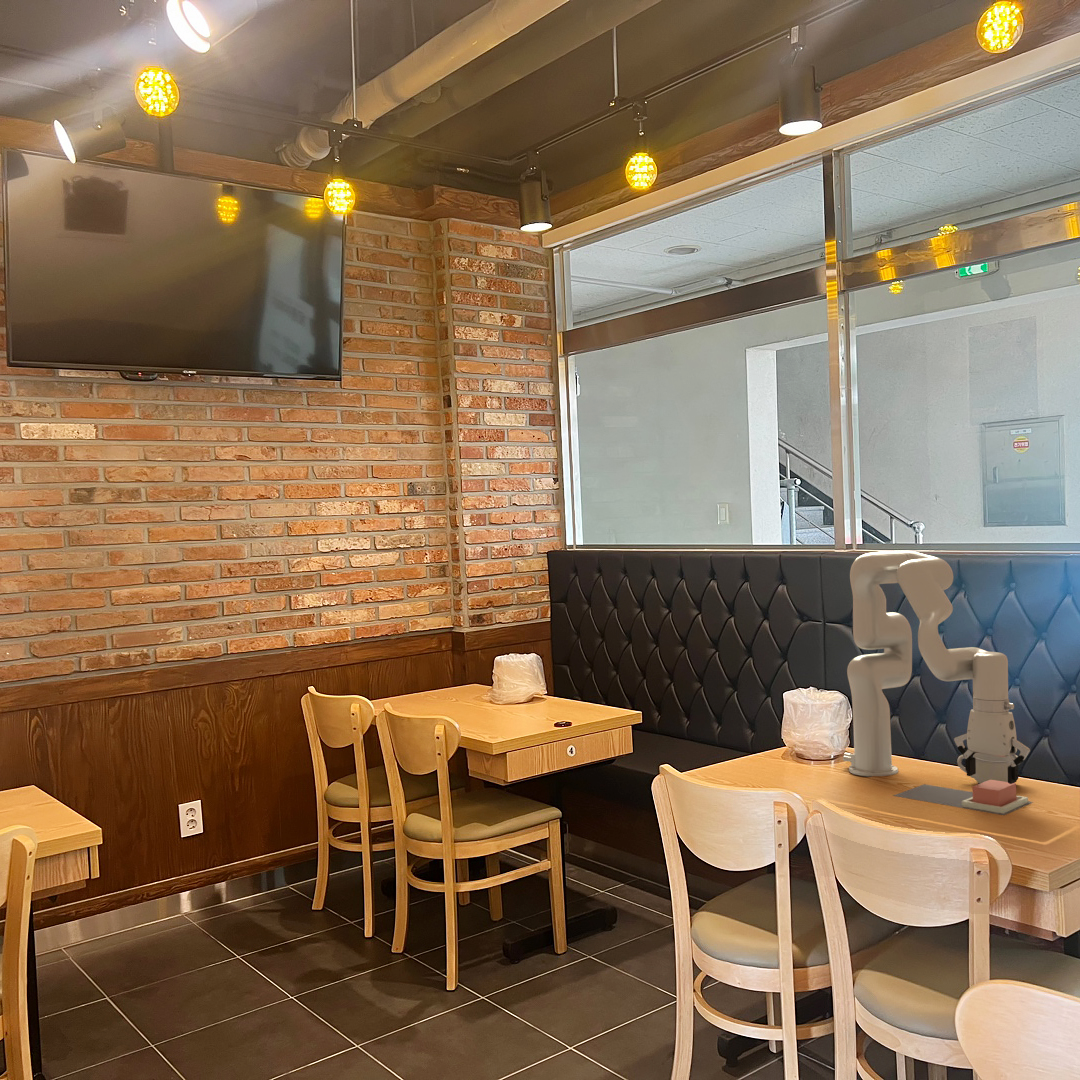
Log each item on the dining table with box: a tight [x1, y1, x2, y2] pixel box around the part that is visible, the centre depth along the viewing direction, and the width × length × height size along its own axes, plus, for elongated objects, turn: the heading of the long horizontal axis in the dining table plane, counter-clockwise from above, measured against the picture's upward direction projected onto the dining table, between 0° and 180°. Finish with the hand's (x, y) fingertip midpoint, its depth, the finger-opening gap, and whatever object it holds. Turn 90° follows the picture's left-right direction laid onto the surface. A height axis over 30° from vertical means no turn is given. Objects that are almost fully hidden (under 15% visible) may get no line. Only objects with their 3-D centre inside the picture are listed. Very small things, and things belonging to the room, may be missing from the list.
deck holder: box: [962, 795, 1029, 814], centre depth 238 cm, size 10×13×1 cm
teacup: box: [956, 753, 1019, 784], centre depth 257 cm, size 14×11×8 cm
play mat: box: [892, 783, 1034, 816], centre depth 244 cm, size 27×15×1 cm, turn 41°
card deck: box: [972, 780, 1017, 807], centre depth 238 cm, size 9×6×4 cm, turn 131°
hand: (991, 778), depth 239 cm, fingers open, 9 cm apart
